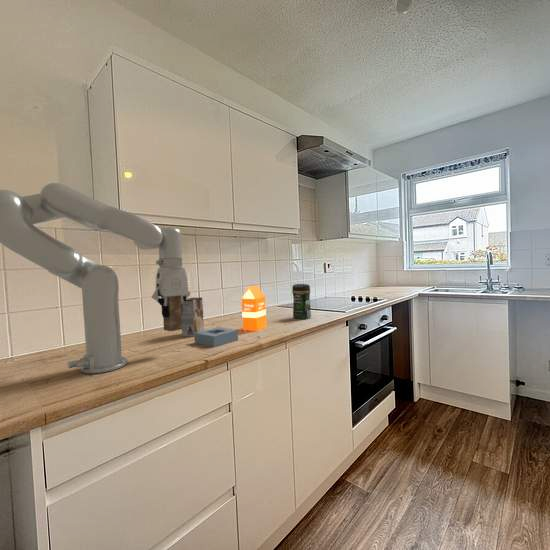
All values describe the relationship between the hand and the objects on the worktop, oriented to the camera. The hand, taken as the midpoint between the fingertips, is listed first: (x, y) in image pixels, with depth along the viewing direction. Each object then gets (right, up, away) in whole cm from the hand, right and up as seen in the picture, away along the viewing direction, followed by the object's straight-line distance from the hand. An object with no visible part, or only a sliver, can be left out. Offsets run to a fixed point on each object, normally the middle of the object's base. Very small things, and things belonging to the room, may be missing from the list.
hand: (172, 315), depth 105 cm
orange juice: (+26, -11, +36) cm, 46 cm away
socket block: (+13, -12, +15) cm, 23 cm away
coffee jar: (+51, -9, +58) cm, 78 cm away
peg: (0, -5, 0) cm, 5 cm away
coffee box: (-1, -13, +30) cm, 32 cm away
